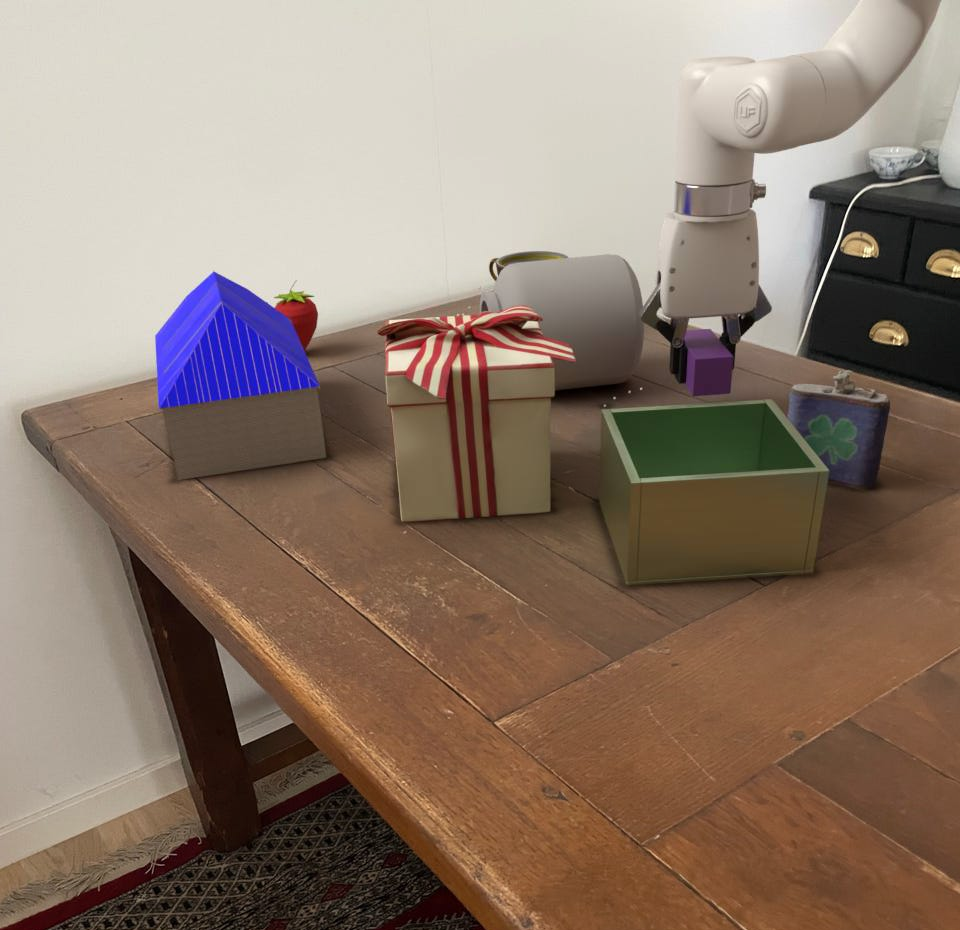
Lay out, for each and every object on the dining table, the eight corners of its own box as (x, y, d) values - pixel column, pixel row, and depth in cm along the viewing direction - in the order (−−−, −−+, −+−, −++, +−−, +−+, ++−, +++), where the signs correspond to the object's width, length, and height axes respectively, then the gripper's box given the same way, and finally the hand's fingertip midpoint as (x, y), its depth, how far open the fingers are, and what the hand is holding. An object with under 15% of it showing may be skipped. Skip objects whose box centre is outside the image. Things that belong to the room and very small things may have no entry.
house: (169, 401, 126) (140, 270, 118) (299, 383, 130) (280, 254, 121) (176, 483, 106) (141, 332, 97) (329, 459, 109) (309, 311, 101)
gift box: (403, 545, 93) (385, 359, 83) (386, 463, 108) (369, 297, 98) (586, 524, 95) (589, 339, 85) (544, 447, 110) (543, 282, 100)
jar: (653, 379, 112) (424, 358, 110) (623, 439, 126) (420, 422, 124) (654, 230, 116) (435, 208, 115) (626, 304, 131) (430, 286, 129)
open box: (760, 493, 98) (772, 398, 93) (813, 575, 85) (829, 470, 80) (599, 504, 98) (601, 409, 93) (626, 587, 85) (631, 482, 80)
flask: (776, 476, 101) (790, 370, 95) (785, 465, 103) (799, 360, 97) (872, 494, 97) (892, 385, 91) (879, 482, 99) (900, 374, 93)
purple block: (708, 363, 116) (710, 328, 114) (730, 393, 108) (733, 356, 106) (673, 366, 116) (674, 331, 114) (692, 396, 108) (695, 359, 106)
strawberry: (324, 345, 142) (315, 271, 137) (321, 363, 136) (311, 286, 130) (282, 347, 142) (270, 273, 136) (276, 365, 136) (264, 289, 130)
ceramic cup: (584, 331, 142) (585, 257, 136) (537, 350, 136) (536, 273, 131) (515, 316, 150) (513, 244, 144) (467, 333, 144) (464, 259, 138)
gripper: (784, 187, 105) (766, 362, 115) (622, 198, 105) (619, 372, 115) (807, 200, 99) (787, 384, 109) (635, 212, 99) (630, 395, 109)
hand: (700, 376), depth 112 cm, fingers closed on purple block, 4 cm apart
